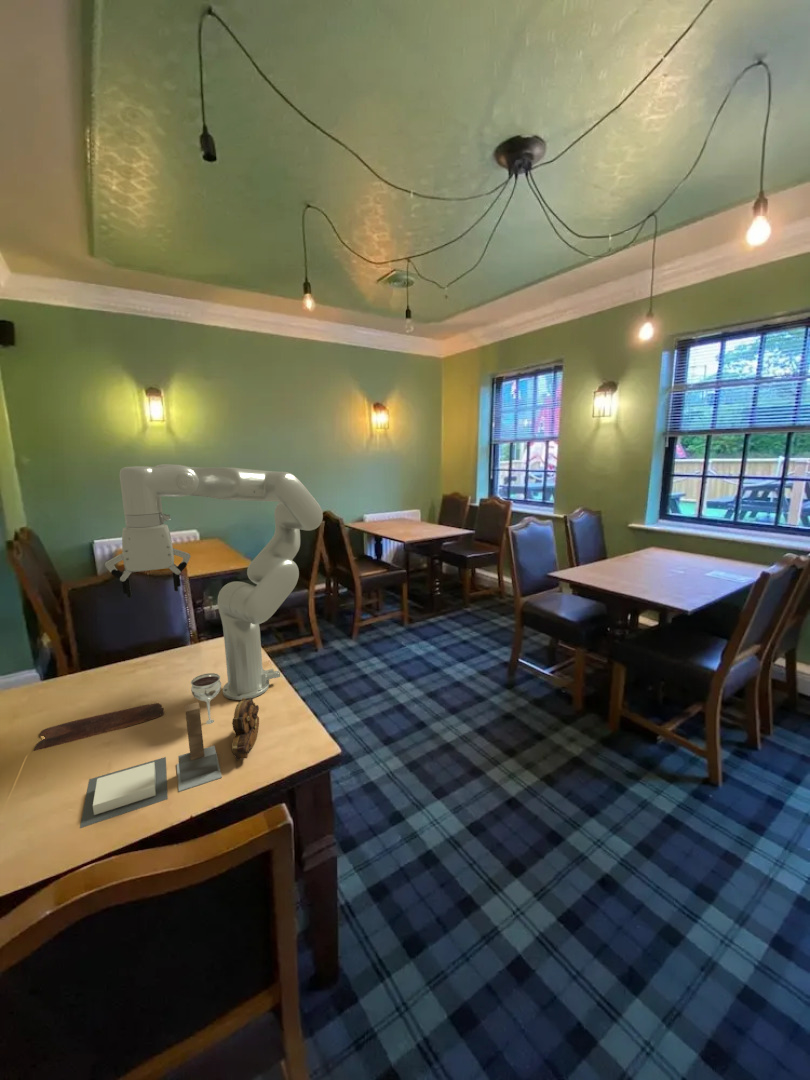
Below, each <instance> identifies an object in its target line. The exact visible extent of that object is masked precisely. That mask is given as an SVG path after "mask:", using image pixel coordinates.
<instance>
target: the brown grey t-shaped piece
mask: <svg viewBox="0 0 810 1080" xmlns="http://www.w3.org/2000/svg"><path fill="white" fill-rule="evenodd" d="M200 710H201V709H200V703H199V702H193V703H189V704H185V705H184V711H185V712H184V713H185V721H186V730H187V739H188V748H189V752H187V753H184V754H180V755H178V757H177V758H178V763H179V770H180V779H181V782H182V781H185V780H189V779H192V778H195V777H198V776H201V775H205V774H208V773H211V772H214V771H217V770H218V768H217V758H216V752H217V751H216V746H215V745H212V746H211V745H210V746H209V747H204V737H203V728H202V721H201V719H202V718H201V711H200Z"/></svg>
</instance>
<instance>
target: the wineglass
mask: <svg viewBox="0 0 810 1080" xmlns="http://www.w3.org/2000/svg"><path fill="white" fill-rule="evenodd" d="M220 680H221V675H220V674H218V673H214V672H211V673H207V672H206V673H203V674H200V675H198V676H196V677H194V678H193V679H192V680H191V681H190V685H191V694H192V696H193V698H195V699H196V700H198V701H201V702H206V703H205V704H206V710H207V716H208V719H207V720H206V721H205V724H207V725H212V724H213V723H215V719H213V718H212V719H211V703H210V702H211V701H212V700H213V699H214V698H216V697H217V696H218V695H219V693H220V692H221V688H222V682H221V681H220Z"/></svg>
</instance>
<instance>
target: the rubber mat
mask: <svg viewBox="0 0 810 1080" xmlns="http://www.w3.org/2000/svg"><path fill="white" fill-rule="evenodd" d="M152 762H154V763H155V773H156V795H155V796H152V797H149V798H146V799H143V800H140V801H136V802H133V803H130V804H127V805H124V806H121V807H118V808H115V809H112V810H109V811H106V812H103V813H99V814H96V815H94V811H93V801H94V795H95V789H96V783H97V779H98V778H101V777H105V776H108V775H112V774H115V773H118V772H122V771H125V770H129V769H132V768H135V767H139V766H142V765H146V764H149V763H152ZM168 799H169V797H168V776H167V757H166V756H163V757H161V758H157V759H154V760H150V761H147V762H144V763H141V764H137V765H133V766H130V767H127V768H123V769H119V770H116V771H113V772H109V773H105V774H102V775H99V776H95V777H93V778H89V780H88V783H87V789H86V795H85V800H84V804H83V809H82V814H81V816H82V817H81V821H80V826H79V829H82V828H86V827H88V826H91V825H94V824H97V823H100V822H103V821H106V820H108V819H113V818H115V817H118V816H121V815H124V814H127V813H130V812H133V811H134V812H135V811H137V810H139V809H143V808H145V807H148V806H151V805H154V804H157V803H160V802H163V801H167V800H168Z"/></svg>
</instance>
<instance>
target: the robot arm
mask: <svg viewBox="0 0 810 1080" xmlns="http://www.w3.org/2000/svg"><path fill="white" fill-rule="evenodd" d="M119 482H120V490H121V491H120V492H121V498H122V507H123V513H124V522H125V527H122V533H121V547H122V548H121V549H122V553H120V554H118V555H116V556H115V557H113V558H111V559H110V560H107V561H106V562H105V563H104V567H105V568H106V569H107V570H108V571H109V573H111V575H112V576H113V577H115V578H117V579H118V580H119V581H120V582H121V585H122V592H123V595H125V594H126V596H127V599H130V598H131V597H132V587H131V579H130V578H129V576H130V575H132V573H136V572H146V571H155V570H163V569H169V570H170V571H171V572H172V581H173V588H174V591H175V592H178V591H179V588H180V587H182V586H181V585H182V584H181V576H180V574H181V573H182V572H183V571H184V569H185V568H186V567H187V566H188V563H189V562H190V559H191V557H192V556H191V554H190V553H188V552H186V551H182V550H180V549H177V548H173V547H174V546H173V542H172V535H171V532H170V529H169V526H168V524H165V522H168V521H171V515H170V514H166V513H164V512H163V505H162V497H170V498H171V497H174V498H182V497H187V496H192V497H205V498H212V499H216V500H225V501H226V500H227V501H247V502H251V501H252V502H253V501H254V502H255V501H257V502H275V503H277V504H276V506H275V508H274V513H273V515H274V516H273V517H274V525H275V529H274V530H275V531H274V533H273V536H272V537H271V539H270V540H269V542H267V544H266V545H265V546H264V547H263V548H262V550H260V552H259V553H258V554H257V555H256V556H255V557H254V558H253V559H252V560H251V562H250V563H249V565H248V567H247V571H246V574H247V577H248V579H249V580H250V581H251V582H252V583H253V584H255V585H253V584H251V583H247V582H244V581H231V582H228V583H227V584H225V585H224V586H222V588H221V589H220V590H219V592H218V595H217V607H218V609H217V610H218V613H219V617H220V620H221V624H222V631H223V641H224V652H225V653H224V654H225V663H226V675H227V682H226V683H225V684H224V686H223V688H222V694H223V696H224V697H225V698H226V699H229V700H234V701H242V698H250V697H251V698H252V699H254V698H256V697H259V696H261V695H262V694H264V693H265V692H267V690H268V689H269V688H268V687H270V680H271V679H272V680H273V679H278V678H280V677H281V672H280V670H274V668H271V669H266V670H265V669H264V668H263V658H262V657H263V656H262V655H263V654H262V642H261V630H260V629H261V628H260V624H262V623H265V622H267V621H268V620H269V619H271V618H272V616H273V615H274V614H275V613H276V612H277V610H278V609H279V608H280V607H281V606H282V605H283V603H284V602H285V600H286V599H287V598H288V597H289V596H290V594H291V593H292V592H293V590H294V589H295V587H296V586H297V583H298V580H299V576H300V571H299V570H300V569H299V567H298V565H297V563H296V562H295V561H294V559H295V557H296V556H297V554H298V552H299V550H300V547H301V531H302V530H303V531H314V530H316V529H317V528H319V527H320V526H321V524H322V522H323V518H324V517H323V516H324V514H323V513H324V512H323V509H322V507H321V506H320V505H321V504H319V502H318V501H317V500H316V499H315V498H314V496H313V495H312V493H310V491H309V490H308V489H307V487H306V486H305V485H304V484H303V483H302V482H301V481H300V479H299V478H297V477H296V476H295V475H294V474H293V473H291V472H287V471H274V470H273V471H271V470H262V469H250V468H240V467H239V468H238V467H231V466H230V467H227V466H226V467H225V466H224V467H221V466H220V467H217V466H216V467H198V466H197V467H196V466H186V465H185V464H184V465H183V464H172V463H171V464H170V463H166V464H165V463H164V464H163V463H161V464H157V465H154V466H148V465H147V466H146V465H145V466H142V465H141V466H140V465H135V466H124V467H122V468H120V471H119ZM300 530H301V531H300ZM175 556H177V557H180V558H182V560H181V562H180V563H179V564H178V565H176V564H175ZM121 561H122V562H123V566H124V567H123V568H124V570H123V571H121V570H119V569H118V568H116V566H115V565H117V564H118V563H120V562H121Z"/></svg>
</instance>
